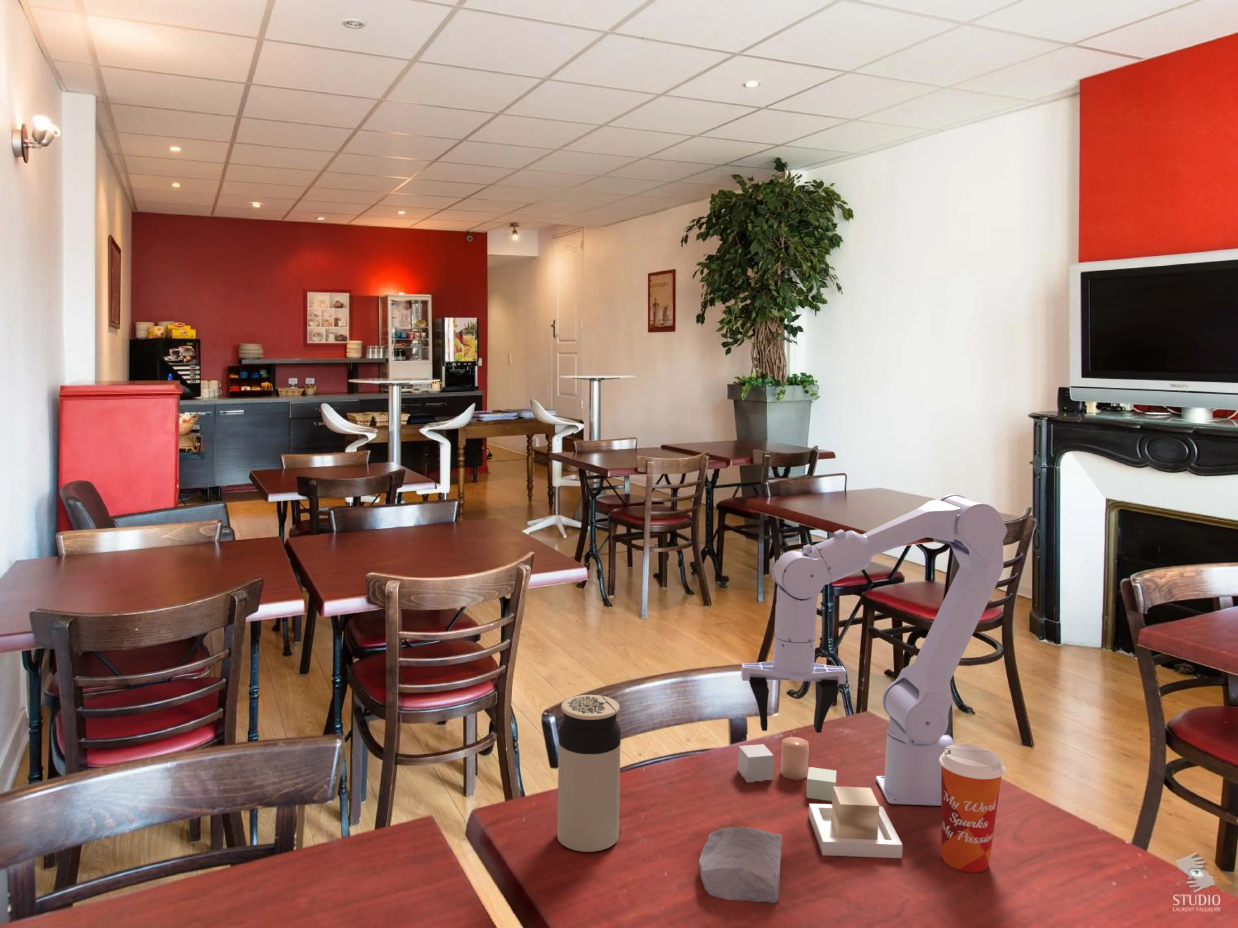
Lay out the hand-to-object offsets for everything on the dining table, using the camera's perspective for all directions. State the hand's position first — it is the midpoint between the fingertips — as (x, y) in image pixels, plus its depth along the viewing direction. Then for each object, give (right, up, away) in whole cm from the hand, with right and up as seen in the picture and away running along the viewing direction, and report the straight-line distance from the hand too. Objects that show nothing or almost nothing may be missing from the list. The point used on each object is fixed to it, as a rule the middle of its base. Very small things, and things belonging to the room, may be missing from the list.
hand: (790, 728), depth 131 cm
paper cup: (+19, -12, -15) cm, 28 cm away
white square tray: (+6, -11, -10) cm, 16 cm away
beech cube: (+6, -11, -10) cm, 16 cm away
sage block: (+5, -10, +2) cm, 11 cm away
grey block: (-4, -9, +7) cm, 12 cm away
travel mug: (-29, -11, -12) cm, 33 cm away
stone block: (-10, -13, -19) cm, 25 cm away
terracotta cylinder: (+2, -9, +8) cm, 12 cm away
